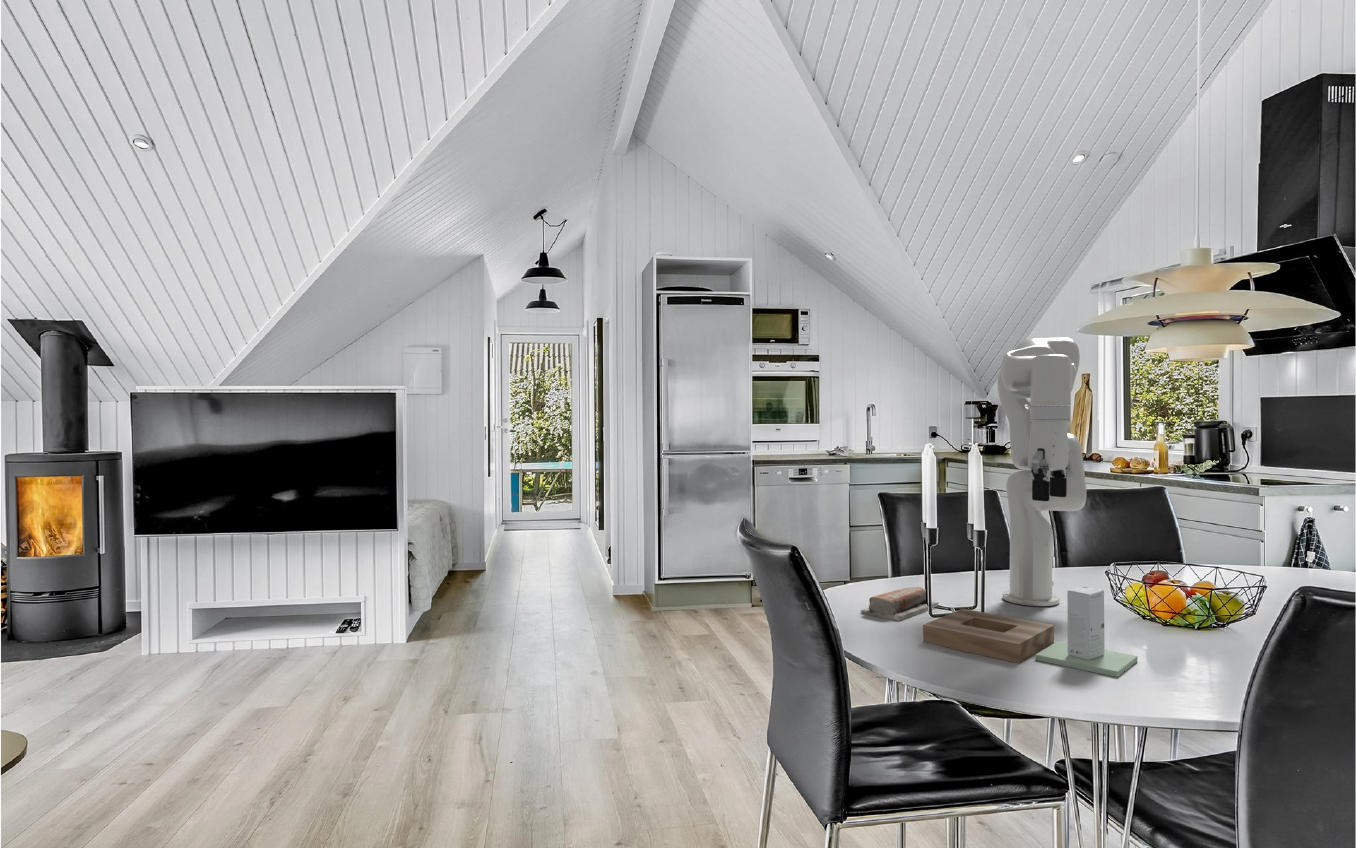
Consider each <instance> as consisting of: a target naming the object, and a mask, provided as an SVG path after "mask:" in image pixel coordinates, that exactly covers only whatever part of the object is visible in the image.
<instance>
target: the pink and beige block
mask: <svg viewBox="0 0 1356 848" xmlns="http://www.w3.org/2000/svg"><path fill="white" fill-rule="evenodd" d="M926 590H927V589H924V588H923V587H919V586H917V587H912V586H911V587H904V588H900V589H895V590H891V591H888V592H884V593H881V594H877V595H874V596H872V597H871V596H870V598H869V605H868V607H867V608H864V609H861V610H860V613H861V614H863V615H867V616H872V617H876V618H882V619H886V620H891V621H896V622H901V621H904V620H907V619H910V618H913V617H915V616H919V615H921V614H925V613H927V612H926V611H928V606H927V604H926ZM931 602H932V606H933V607H934V606H938V607H939V603H940V602H937V601H931ZM928 612H929V611H928ZM918 614H919V615H918ZM912 616H913V617H912ZM906 618H907V619H906Z"/></svg>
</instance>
